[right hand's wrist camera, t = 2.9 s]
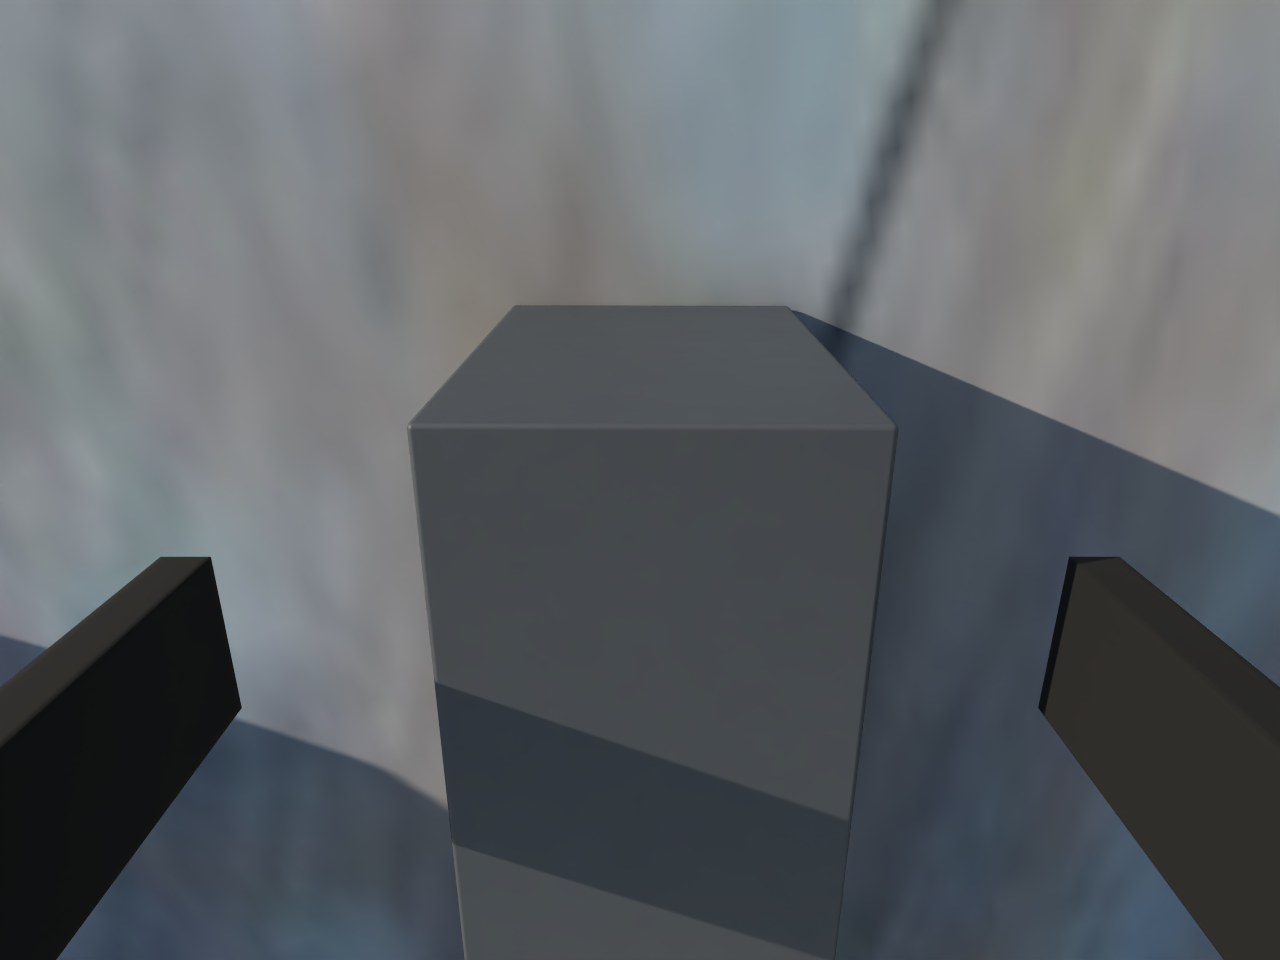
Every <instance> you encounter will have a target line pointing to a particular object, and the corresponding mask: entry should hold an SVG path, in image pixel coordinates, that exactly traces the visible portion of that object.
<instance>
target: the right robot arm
mask: <svg viewBox="0 0 1280 960" xmlns="http://www.w3.org/2000/svg"><path fill="white" fill-rule="evenodd" d="M241 708H242V707H241V702H240V697H239V692H238V688H237V683H236V678H235V673H234V668H233V663H232V658H231V653H230V648H229V644H228V639H227V634H226V629H225V624H224V619H223V614H222V609H221V604H220V600H219V595H218V590H217V585H216V580H215V575H214V570H213V565H212V560H211V557H160V558H159V559H157V560H156V561H155V562H154V563H153V564H151V565H150V566H149V567H148V568H146V569H145V570H144V571H143V572H141V573H140V574H139V575H138V576H137V577H135V578H134V579H133V580H132V581H130V582H129V583H128V584H127V585H126V586H124V587H123V588H122V589H121V590H119V591H118V592H117V593H116V594H114V595H113V596H112V597H111V598H110V599H108V600H107V601H106V602H105V603H103V604H102V605H101V606H100V607H98V608H97V609H96V610H95V611H94V612H92V613H91V614H90V615H89V616H87V617H86V618H85V619H84V620H83V621H81V622H80V623H79V624H78V625H76V626H75V627H74V628H73V629H71V630H70V631H69V632H68V633H67V634H65V635H64V636H63V637H62V638H60V639H59V640H58V641H57V642H55V643H54V644H53V645H52V646H51V647H49V648H48V649H47V650H46V651H44V652H43V653H42V654H41V655H39V656H38V657H37V658H36V659H35V660H33V661H32V662H31V663H30V664H28V665H27V666H26V667H25V668H24V669H22V670H21V671H20V672H19V673H17V674H16V675H15V676H14V677H12V678H11V679H10V680H9V681H8V682H6V683H5V684H4V685H3V686H1V687H0V960H56V959H57V958H58V957H59V955H60V954H61V952H62V951H63V950H64V948H65V947H66V946H67V944H68V943H69V942H70V940H71V939H72V938H73V936H74V935H75V933H76V932H77V931H78V929H79V928H80V927H81V925H82V924H83V923H84V921H85V920H86V919H87V917H88V916H89V914H90V913H91V912H92V910H93V909H94V908H95V906H96V905H97V904H98V902H99V901H100V900H101V898H102V897H103V895H104V894H105V893H106V891H107V890H108V889H109V887H110V886H111V885H112V883H113V882H114V880H115V879H116V878H117V876H118V875H119V874H120V872H121V871H122V870H123V868H124V867H125V866H126V864H127V863H128V861H129V860H130V859H131V857H132V856H133V855H134V853H135V852H136V851H137V849H138V848H139V847H140V845H141V844H142V842H143V841H144V840H145V838H146V837H147V836H148V834H149V833H150V832H151V830H152V829H153V828H154V826H155V825H156V823H157V822H158V821H159V819H160V818H161V817H162V815H163V814H164V813H165V811H166V810H167V809H168V807H169V806H170V804H171V803H172V802H173V800H174V799H175V798H176V796H177V795H178V794H179V792H180V791H181V790H182V788H183V787H184V785H185V784H186V783H187V781H188V780H189V779H190V777H191V776H192V775H193V773H194V772H195V770H196V769H197V768H198V766H199V765H200V764H201V762H202V761H203V760H204V758H205V757H206V756H207V754H208V753H209V751H210V750H211V749H212V747H213V746H214V745H215V743H216V742H217V741H218V739H219V738H220V737H221V735H222V734H223V732H224V731H225V730H226V728H227V727H228V726H229V724H230V723H231V722H232V720H233V719H234V718H235V716H236V715H237V713H238V712H239V711H240V709H241ZM1038 708H1039V709H1040V711H1041V712H1042V713H1043V715H1044V716H1045V718H1046V719H1047V720H1048V722H1049V723H1050V724H1051V726H1052V727H1053V728H1054V730H1055V731H1056V732H1057V734H1058V735H1059V737H1060V738H1061V739H1062V741H1063V742H1064V743H1065V745H1066V746H1067V747H1068V749H1069V750H1070V751H1071V753H1072V754H1073V756H1074V757H1075V758H1076V760H1077V761H1078V762H1079V764H1080V765H1081V766H1082V768H1083V769H1084V770H1085V772H1086V773H1087V775H1088V776H1089V777H1090V779H1091V780H1092V781H1093V783H1094V784H1095V785H1096V787H1097V788H1098V790H1099V791H1100V792H1101V794H1102V795H1103V796H1104V798H1105V799H1106V800H1107V802H1108V803H1109V804H1110V806H1111V807H1112V809H1113V810H1114V811H1115V813H1116V814H1117V815H1118V817H1119V818H1120V819H1121V821H1122V822H1123V823H1124V825H1125V826H1126V828H1127V829H1128V830H1129V832H1130V833H1131V834H1132V836H1133V837H1134V838H1135V840H1136V841H1137V842H1138V844H1139V845H1140V847H1141V848H1142V849H1143V851H1144V852H1145V853H1146V855H1147V856H1148V857H1149V859H1150V860H1151V861H1152V863H1153V864H1154V866H1155V867H1156V868H1157V870H1158V871H1159V872H1160V874H1161V875H1162V876H1163V878H1164V879H1165V880H1166V882H1167V883H1168V885H1169V886H1170V887H1171V889H1172V890H1173V891H1174V893H1175V894H1176V895H1177V897H1178V898H1179V900H1180V901H1181V902H1182V904H1183V905H1184V906H1185V908H1186V909H1187V910H1188V912H1189V913H1190V914H1191V916H1192V917H1193V919H1194V920H1195V921H1196V923H1197V924H1198V925H1199V927H1200V928H1201V929H1202V931H1203V932H1204V933H1205V935H1206V936H1207V938H1208V939H1209V940H1210V942H1211V943H1212V944H1213V946H1214V947H1215V948H1216V950H1217V951H1218V952H1219V954H1220V955H1221V957H1222V958H1223V959H1224V960H1280V687H1279V686H1277V685H1276V684H1275V683H1274V682H1272V681H1271V680H1270V679H1269V678H1268V677H1266V676H1265V675H1264V674H1263V673H1261V672H1260V671H1259V670H1258V669H1256V668H1255V667H1254V666H1253V665H1252V664H1250V663H1249V662H1248V661H1247V660H1245V659H1244V658H1243V657H1242V656H1241V655H1239V654H1238V653H1237V652H1236V651H1234V650H1233V649H1232V648H1231V647H1229V646H1228V645H1227V644H1226V643H1225V642H1223V641H1222V640H1221V639H1220V638H1218V637H1217V636H1216V635H1215V634H1213V633H1212V632H1211V631H1210V630H1209V629H1207V628H1206V627H1205V626H1204V625H1202V624H1201V623H1200V622H1199V621H1197V620H1196V619H1195V618H1194V617H1193V616H1191V615H1190V614H1189V613H1188V612H1186V611H1185V610H1184V609H1183V608H1182V607H1180V606H1179V605H1178V604H1177V603H1175V602H1174V601H1173V600H1172V599H1170V598H1169V597H1168V596H1167V595H1166V594H1164V593H1163V592H1162V591H1161V590H1159V589H1158V588H1157V587H1156V586H1154V585H1153V584H1152V583H1151V582H1150V581H1148V580H1147V579H1146V578H1145V577H1143V576H1142V575H1141V574H1140V573H1139V572H1137V571H1136V570H1135V569H1134V568H1132V567H1131V566H1130V565H1129V564H1127V563H1126V562H1125V561H1124V560H1123V559H1121V558H1120V557H1069V560H1068V565H1067V570H1066V575H1065V580H1064V585H1063V590H1062V595H1061V600H1060V604H1059V609H1058V614H1057V619H1056V624H1055V629H1054V634H1053V639H1052V644H1051V648H1050V653H1049V658H1048V663H1047V668H1046V673H1045V678H1044V683H1043V688H1042V692H1041V697H1040V702H1039V707H1038Z"/></svg>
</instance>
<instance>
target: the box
mask: <svg viewBox="0 0 1280 960" xmlns="http://www.w3.org/2000/svg"><path fill="white" fill-rule="evenodd" d="M407 432H408V441H409V450H410V460H411V469H412V478H413V487H414V496H415V506H416V515H417V524H418V533H419V543H420V552H421V561H422V570H423V580H424V589H425V598H426V607H427V617H428V626H429V635H430V644H431V653H432V663H433V672H434V681H435V690H436V700H437V709H438V718H439V727H440V737H441V746H442V755H443V764H444V774H445V783H446V792H447V801H448V810H449V820H450V829H451V838H452V847H453V857H454V866H455V875H456V884H457V894H458V903H459V912H460V921H461V931H462V940H463V949H464V958H465V960H835V953H836V944H837V936H838V928H839V919H840V911H841V903H842V894H843V886H844V878H845V869H846V861H847V853H848V844H849V836H850V828H851V819H852V811H853V803H854V794H855V786H856V778H857V769H858V761H859V753H860V744H861V736H862V728H863V719H864V711H865V703H866V694H867V686H868V678H869V669H870V661H871V653H872V644H873V636H874V628H875V619H876V611H877V603H878V594H879V586H880V578H881V569H882V561H883V553H884V544H885V536H886V528H887V519H888V511H889V503H890V495H891V486H892V478H893V470H894V461H895V453H896V445H897V436H898V427H897V424H896V423H895V422H894V421H893V420H892V419H891V418H890V417H889V416H888V415H887V414H886V413H885V411H884V410H883V409H882V408H881V407H880V406H879V405H878V404H877V403H876V402H875V401H874V399H873V398H872V397H871V396H870V395H869V394H868V393H867V392H866V391H865V390H864V389H863V388H862V386H861V385H860V384H859V383H858V382H857V381H856V380H855V379H854V378H853V377H852V376H851V375H850V373H849V372H848V371H847V370H846V369H845V368H844V367H843V366H842V365H841V364H840V363H839V362H838V360H837V359H836V358H835V357H834V356H833V355H832V354H831V353H830V352H829V351H828V350H827V349H826V347H825V346H824V345H823V344H822V343H821V342H820V341H819V340H818V339H817V338H816V337H815V336H814V334H813V333H812V332H811V331H810V330H809V329H808V328H807V327H806V326H805V325H804V324H803V323H802V321H801V320H800V319H799V318H798V317H797V316H796V315H795V314H794V313H793V312H792V311H791V310H790V308H789V307H787V306H514V307H512V309H511V310H510V311H509V312H508V313H507V314H506V315H505V316H504V317H503V319H502V320H501V321H500V322H499V323H498V324H497V325H496V326H495V328H494V329H493V330H492V331H491V332H490V333H489V334H488V335H487V336H486V338H485V339H484V340H483V341H482V342H481V343H480V344H479V345H478V346H477V348H476V349H475V350H474V351H473V352H472V353H471V354H470V355H469V357H468V358H467V359H466V360H465V361H464V362H463V363H462V364H461V365H460V367H459V368H458V369H457V370H456V371H455V372H454V373H453V374H452V376H451V377H450V378H449V379H448V380H447V381H446V382H445V383H444V384H443V386H442V387H441V388H440V389H439V390H438V391H437V392H436V393H435V394H434V396H433V397H432V398H431V399H430V400H429V401H428V402H427V403H426V405H425V406H424V407H423V408H422V409H421V410H420V411H419V412H418V413H417V415H416V416H415V417H414V418H413V419H412V420H411V421H410V422H409V424H408V427H407Z"/></svg>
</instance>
